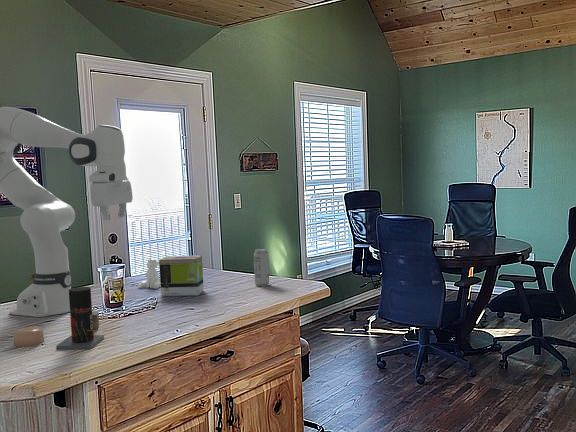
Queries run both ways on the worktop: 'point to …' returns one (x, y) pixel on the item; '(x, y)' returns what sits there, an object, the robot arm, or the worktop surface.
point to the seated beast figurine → (151, 276)
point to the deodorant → (81, 314)
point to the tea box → (181, 275)
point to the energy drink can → (261, 267)
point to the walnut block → (95, 320)
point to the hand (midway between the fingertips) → (114, 218)
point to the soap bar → (28, 336)
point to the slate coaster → (87, 345)
